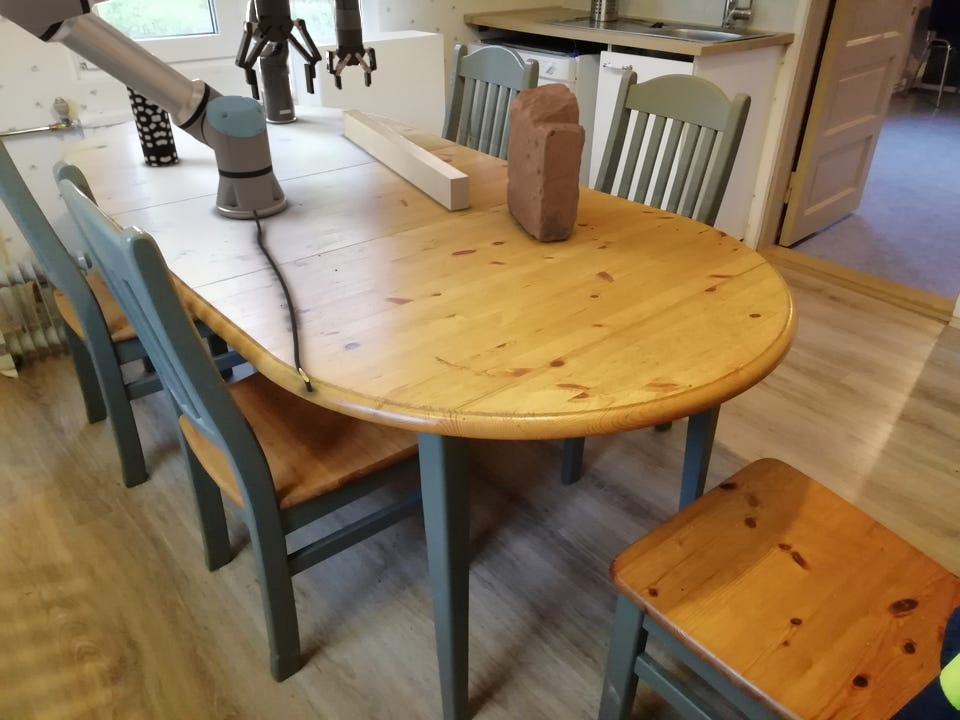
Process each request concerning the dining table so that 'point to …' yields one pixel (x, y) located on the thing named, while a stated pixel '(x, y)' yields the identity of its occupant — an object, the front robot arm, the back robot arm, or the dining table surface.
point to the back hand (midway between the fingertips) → (353, 87)
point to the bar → (408, 160)
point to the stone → (545, 160)
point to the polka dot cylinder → (153, 131)
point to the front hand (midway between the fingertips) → (284, 96)
